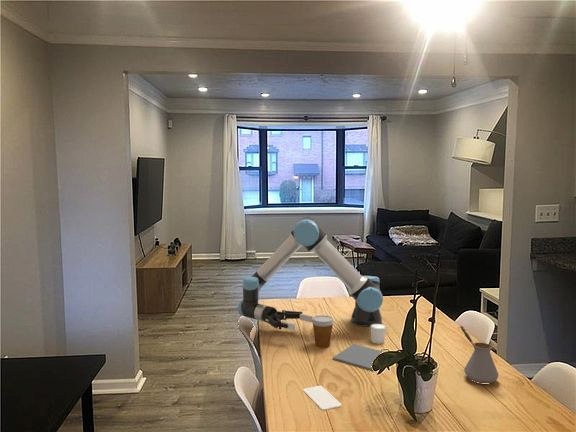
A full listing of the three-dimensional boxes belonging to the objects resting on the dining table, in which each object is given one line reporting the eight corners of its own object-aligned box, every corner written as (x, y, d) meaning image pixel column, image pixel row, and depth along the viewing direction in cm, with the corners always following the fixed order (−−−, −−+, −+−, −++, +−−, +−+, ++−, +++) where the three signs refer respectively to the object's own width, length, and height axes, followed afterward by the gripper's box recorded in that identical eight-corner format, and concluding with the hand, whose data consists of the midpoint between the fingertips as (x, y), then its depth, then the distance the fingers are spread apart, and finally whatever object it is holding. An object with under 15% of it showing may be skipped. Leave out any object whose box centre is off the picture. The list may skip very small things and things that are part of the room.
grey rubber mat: (353, 345, 197) (354, 343, 197) (393, 355, 186) (393, 353, 186) (332, 359, 182) (332, 357, 182) (373, 371, 172) (373, 369, 172)
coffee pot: (505, 386, 161) (507, 345, 159) (474, 388, 159) (476, 346, 157) (472, 361, 182) (473, 324, 180) (445, 362, 180) (446, 325, 178)
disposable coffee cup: (328, 340, 203) (328, 314, 202) (337, 348, 194) (337, 320, 193) (308, 342, 200) (308, 316, 199) (316, 350, 191) (316, 323, 190)
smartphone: (321, 385, 160) (342, 405, 146) (321, 387, 160) (342, 407, 146) (302, 389, 157) (322, 409, 143) (302, 391, 157) (322, 411, 143)
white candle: (366, 341, 202) (367, 326, 201) (375, 337, 207) (375, 322, 206) (380, 345, 197) (380, 329, 197) (388, 341, 202) (389, 325, 202)
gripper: (282, 315, 225) (318, 324, 212) (248, 328, 205) (286, 339, 192) (282, 300, 224) (318, 308, 212) (248, 312, 204) (286, 322, 192)
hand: (303, 323), depth 202 cm, fingers open, 13 cm apart
